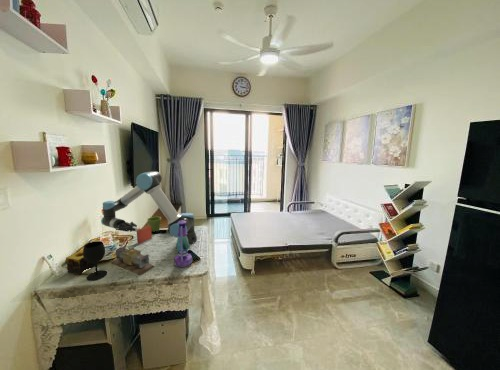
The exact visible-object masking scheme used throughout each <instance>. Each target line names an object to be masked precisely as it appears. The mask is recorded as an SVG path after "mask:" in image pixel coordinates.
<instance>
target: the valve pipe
mask: <svg viewBox="0 0 500 370" xmlns="http://www.w3.org/2000/svg"><path fill="white" fill-rule="evenodd" d="M114 251H115V257H116V258H115V259H118V258H119V261H120V262H122V263H123V262H124V263H126V264H129V265H131V266H132V265H134V264H135V267H136V268H137V269H140V268H142V267H144V266H146V265H147V264H150V258H149V257H150V256H149V254H142V253H141V250H139V249H136V248H134V249H131V250H129V249H128V248H126V246H122V247H119V248H116V249H115V250H114Z"/></svg>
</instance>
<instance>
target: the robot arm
mask: <svg viewBox="0 0 500 370" xmlns="http://www.w3.org/2000/svg"><path fill="white" fill-rule="evenodd" d="M162 179H163V178H162V175H161V173H160V172H159V171H157V170H151V171H146V172H143V173H139V175H137V176H136V179H135V183H136V186H135V187H133V188H132V189H131V190H129V191H128V192H127V193H125V194H124V195H123V196H122V197H120V198H119V199H117V200H116V201H114V200H107V201H104V202H102V212H103V213H102V214H103V217H102V218H101V220H100V223H101V224H102V225H103V226H104V227H109V228H113V229H115V231H120V232H121V231H123V232H131V233H132V232H136V233H137V230H139V229H141V227H138V225H137V224H136V223H134V222H133V221H131V222H127V221H125V220H124V219H121V218H118V217H116V212H118V211H120V210H123V209H125V208H127V207H128V206H129V205H130V204H131V202H132V203H133V202H134V201H135V200H137V199H138V198H140V196H142V195H143V194H144V193H145V194H147V195H150V197H151V198H152V199H153V201H154V202H155V204H156V206H157V207H158V208H159V210H160V212H161V213H162V214H163V216H164V217H165V218H166V220H167V226H168V225H169V227H170V231H169V234H170V235H171V236H172V237H174V238H177V239H178V237H179V236H178V232H179V231H178V229H179V224H178V222H179V221H181V220H183V221H186V223H185V227H186V232H187V233H188V234H187V235H186V236H187V238H188V241H189V245H190V243H191V244H193V242H194V243H196V242H197V241H198V237H197V233H196V231H195V214H194V213H192V212H182V213H180V215H179V214H178V213H179V212H178V211H177V210H176V208H175V206H174V205H173V204H172V202H171V200H170V199H168V197H167V195H166V194H165V193H164V191H163V189H162V188H161V186H162V184H161V183H162ZM177 212H178V213H177ZM195 241H196V242H195Z"/></svg>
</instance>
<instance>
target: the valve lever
mask: <svg viewBox="0 0 500 370" xmlns="http://www.w3.org/2000/svg"><path fill="white" fill-rule="evenodd" d="M136 237H137V238H136V239H137V242H136V243H134V244H132V245H131V244H130V245H128V247H127V249H128V250H131V249H135V247H138V246H141V245H143V244H145V243H147V242H149V241H152V240H153V237H152V231H151V226H149V225H148V226H145V227H142V228H140V229H139V230H137V232H136Z"/></svg>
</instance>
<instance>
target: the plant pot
mask: <svg viewBox="0 0 500 370" xmlns="http://www.w3.org/2000/svg"><path fill="white" fill-rule="evenodd" d="M161 220H162V217H161V216H152V217H148V218H147V219H146V221H147V223H148V226H151V232H154V233H156V232H158V231H160V227H161ZM155 231H156V232H155Z"/></svg>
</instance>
